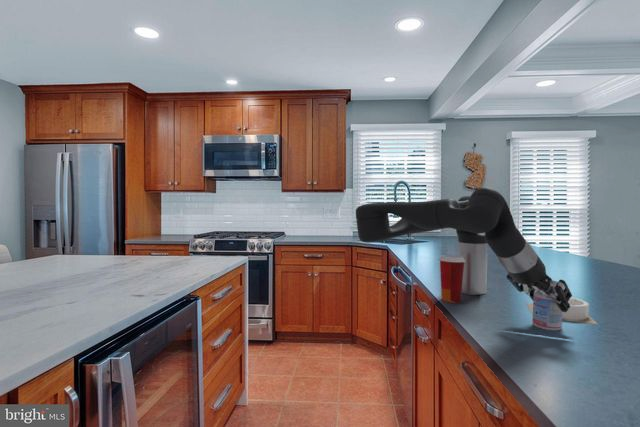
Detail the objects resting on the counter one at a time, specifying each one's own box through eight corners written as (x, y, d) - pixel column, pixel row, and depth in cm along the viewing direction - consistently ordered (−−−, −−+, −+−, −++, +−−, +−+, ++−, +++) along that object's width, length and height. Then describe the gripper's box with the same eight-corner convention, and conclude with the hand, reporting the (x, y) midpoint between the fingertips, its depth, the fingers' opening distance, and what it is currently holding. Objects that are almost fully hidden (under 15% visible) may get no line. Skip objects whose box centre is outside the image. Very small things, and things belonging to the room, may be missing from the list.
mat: (533, 318, 93) (533, 316, 93) (525, 304, 106) (525, 302, 105) (597, 326, 87) (597, 324, 87) (581, 310, 100) (581, 308, 100)
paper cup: (464, 299, 111) (465, 255, 111) (463, 305, 104) (464, 258, 104) (439, 296, 114) (439, 253, 114) (436, 301, 107) (437, 256, 107)
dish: (543, 316, 93) (543, 303, 93) (535, 305, 103) (536, 293, 103) (593, 322, 89) (594, 308, 89) (580, 310, 99) (581, 297, 99)
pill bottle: (526, 323, 88) (528, 279, 88) (549, 323, 89) (550, 279, 88) (544, 332, 82) (545, 284, 82) (568, 331, 83) (569, 284, 82)
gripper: (485, 266, 87) (518, 308, 92) (540, 278, 74) (575, 327, 78) (501, 244, 89) (533, 287, 93) (558, 252, 75) (591, 301, 80)
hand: (552, 305), depth 86 cm, fingers closed on pill bottle, 6 cm apart
